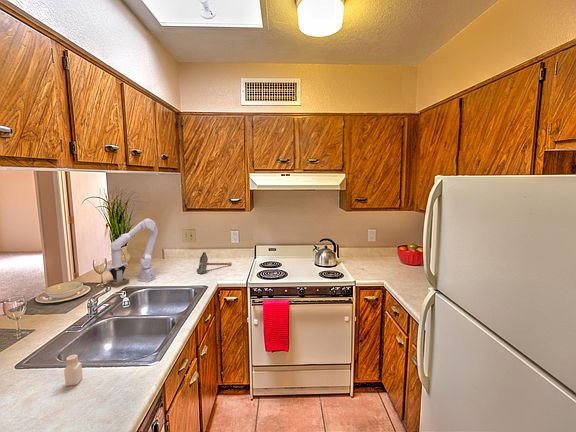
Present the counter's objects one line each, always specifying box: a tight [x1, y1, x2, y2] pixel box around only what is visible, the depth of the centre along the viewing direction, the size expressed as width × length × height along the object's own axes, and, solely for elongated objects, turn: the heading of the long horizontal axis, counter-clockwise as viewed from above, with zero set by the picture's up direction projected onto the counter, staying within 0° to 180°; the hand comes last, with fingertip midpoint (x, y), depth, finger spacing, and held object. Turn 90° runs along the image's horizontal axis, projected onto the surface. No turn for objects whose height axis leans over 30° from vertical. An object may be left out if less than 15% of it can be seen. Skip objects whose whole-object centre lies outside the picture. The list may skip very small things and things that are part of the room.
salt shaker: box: [63, 354, 83, 387], centre depth 102 cm, size 4×4×10 cm
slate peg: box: [112, 268, 124, 283], centre depth 199 cm, size 4×4×8 cm
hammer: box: [196, 251, 232, 274], centre depth 233 cm, size 6×16×30 cm
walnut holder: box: [106, 277, 130, 289], centre depth 200 cm, size 9×9×3 cm
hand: (118, 278), depth 199 cm, fingers closed on slate peg, 4 cm apart
